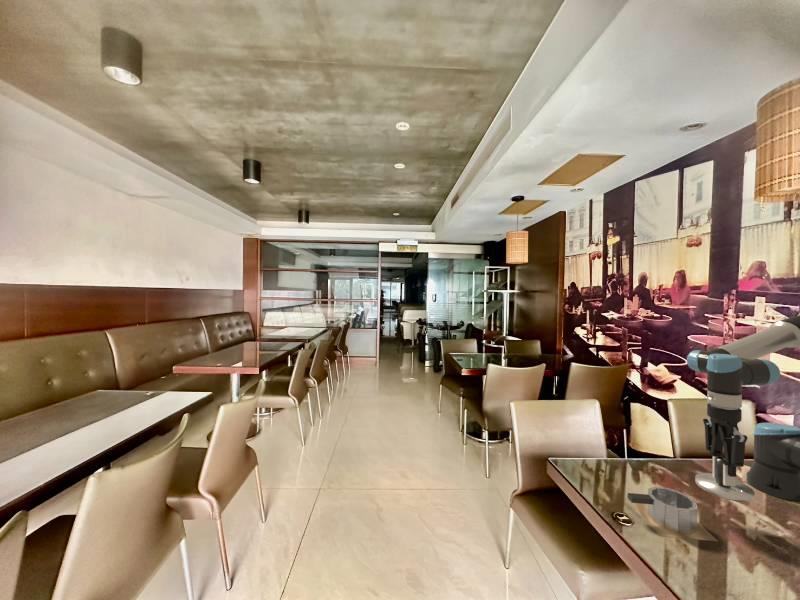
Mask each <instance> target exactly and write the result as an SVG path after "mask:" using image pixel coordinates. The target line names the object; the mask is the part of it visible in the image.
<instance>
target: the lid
mask: <svg viewBox="0 0 800 600" xmlns="http://www.w3.org/2000/svg"><path fill="white" fill-rule="evenodd" d="M723 462H726V461H725V456H720V457H716V478H714V477H713V472H700V473H697V474H695V477H694V481H695V484H696V485H697V486H698V487H699V488H700V489H701V490H703V491H705V492H707V493H709V494H711V495H713V496H716V497H718V498H721V499H725V500H728V501H732V502H740V503H749V502H753V501H754V500H755V499H756V498H755V497H756V495H755V494H756V493H755V491H754V490H753V489H752V487H750V486H749V485H747V484H746V483H744V482H742V481H740V480H738V479H735V486H725V485H723Z"/></svg>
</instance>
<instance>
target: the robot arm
mask: <svg viewBox="0 0 800 600" xmlns="http://www.w3.org/2000/svg"><path fill="white" fill-rule="evenodd" d="M798 347H800V314H799V315H795V316H791V317H788V318H784V319H782V320H778V321H776V322H774V323H772V324H770V325H769V327H768V328H766V329H764V330H761V331H758V332H756V333H754V334H750V335H748V336H745V337H742V338H740V339H737V340H733V341H732V342H729V343H726V344H724V345H721V346H719V347H716V348H714V349H710V350H708V351H707V350H706V351H705V350H701V349H700V350H699V349H698V350H697V349H696V350H695V349H694V350H692V351H690V352H689V353H688V354H687V357H686V363H687V366H688V368H689V369H691V370H693V371H695V372H698V373H701V374H706V375H707V376H706V380H707V383H706V384H707V388H706V389H707V398H706V399H707V400H706V401H707V404H706V414H707V417H709V418H703V419H702V421H703V426H704V437H705V450H706V451H708V452H709V454H710V455H711V464H712V473H713V477H714V478H716V457H724V458H725V461H726V462H723V485H725V486H735V480H736V477H737V467H738V468H739V467H740V468H744V466H745V465H744V463H745V450H746V442H747V441H748V438H749V437H748V436H747V435H746V434H742V433H741V432H740V431H739V430H740V429H739V426H738V424H739V423H740V422H742V419H743V418H742V417H743V416H742V415H743V413H742V411H743V410H742V409H741V408H742V406H743V397H742V396H743V395H742V392H743V391H742V386H743V387H744V386H766V385H768V384H769V385H770V384H774V383H776V382H778V380H779V379H780V377H781V370H780V368H779V366H778V364H776V363H774V362H773V361H771V360H770V359H764V358H763V359H762V357H765V356H768V355H770V354H773V353H776V352H778V351H780V350H783V349H785V348H791V349H792V348H793V349H794V348H798ZM760 358H761V359H760ZM723 452H724V453H723ZM746 482H747V484H749V485H751V487H753V488H755V489H757V490H758V491H760V492H762V493H765V494H768V495H770V496H774V497H777V498H780V499H783V500H788V501H794V502H800V427H799V426H795V425H791V424H785V423H777V422H760V423H757V424H755V426H754V432H753V462H752V465H751V466H750V468H749V470H748V471H747V473H746Z"/></svg>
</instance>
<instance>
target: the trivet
mask: <svg viewBox="0 0 800 600" xmlns="http://www.w3.org/2000/svg"><path fill="white" fill-rule="evenodd" d="M631 504H632V505H633V506H634V507H635V509H636V510H637V511H638V512H639V514H640V515H641V516H642V517H643V518H644V519H645V521H646V522H647V523H648V524H649V525H650V527H651V528H652V529H653V530H654V531H655V532H656V534H658V536H659V537H667V538H668V537H669V538H680V539H689V540H699V541H700V540H701V541H709V542H718V539H717V538H716V537H714V536H713V535H712V534H711V533H710V532H709V531H708V530H707V529H706V528H705V527H703V526H702V525H701V524H700V523H699V522H698V521H697V532H695V533H693V534H691V535H688V534H679V533H675V532H673V531H670V530H667V529H664V528H663V527H661V526H659V525H658V524H656V523H654V522H653V521H652V520H651V519H650V517H649V516H648V504H641V503H632V502H631Z"/></svg>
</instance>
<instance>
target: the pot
mask: <svg viewBox="0 0 800 600" xmlns="http://www.w3.org/2000/svg"><path fill="white" fill-rule="evenodd" d="M647 489H648V490H647V494H643V493H632V492H627V499H628V501H629V502H631V504H632V503H641V504H648V516H649V517H650V519H651V520H652V521H653V522H654V523H656V524H658V525H659V526H661V527H663V528H664V529H667V530H670V531H673V532H675V533H679V534H688V535H691V534H693V533H695V532H697V522H698V505H697V504H698V503H697V502H696V501H695V500H694V499H692V497H690V496H689V495H687V494H685V493H682V492H681V491H679V490H676V489H672V488H669V487H663V486H652V487H649V488H647Z"/></svg>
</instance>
